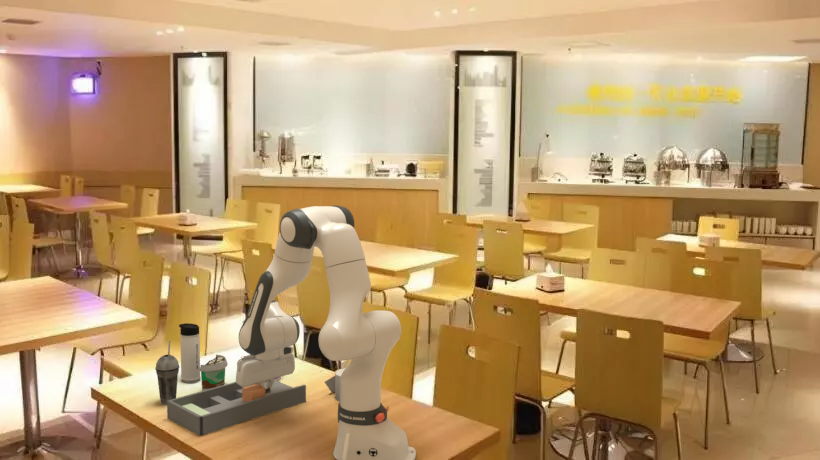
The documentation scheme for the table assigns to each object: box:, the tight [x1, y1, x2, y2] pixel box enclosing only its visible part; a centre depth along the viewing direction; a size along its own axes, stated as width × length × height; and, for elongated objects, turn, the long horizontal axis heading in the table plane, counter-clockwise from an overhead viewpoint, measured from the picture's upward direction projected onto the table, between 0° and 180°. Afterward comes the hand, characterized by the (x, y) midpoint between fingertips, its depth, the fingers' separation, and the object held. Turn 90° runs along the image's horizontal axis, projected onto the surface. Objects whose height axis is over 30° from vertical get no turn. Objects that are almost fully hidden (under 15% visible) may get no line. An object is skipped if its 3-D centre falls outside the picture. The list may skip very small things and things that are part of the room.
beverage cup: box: [154, 340, 180, 406], centre depth 241 cm, size 7×7×20 cm
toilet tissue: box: [324, 367, 347, 403], centre depth 250 cm, size 9×13×9 cm
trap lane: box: [166, 380, 307, 437], centre depth 238 cm, size 38×18×6 cm, turn 137°
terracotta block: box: [242, 384, 265, 402], centre depth 238 cm, size 5×5×4 cm
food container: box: [200, 354, 229, 391], centre depth 255 cm, size 12×6×10 cm, turn 168°
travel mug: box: [178, 322, 201, 384], centre depth 261 cm, size 6×7×20 cm
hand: (265, 393), depth 241 cm, fingers closed
